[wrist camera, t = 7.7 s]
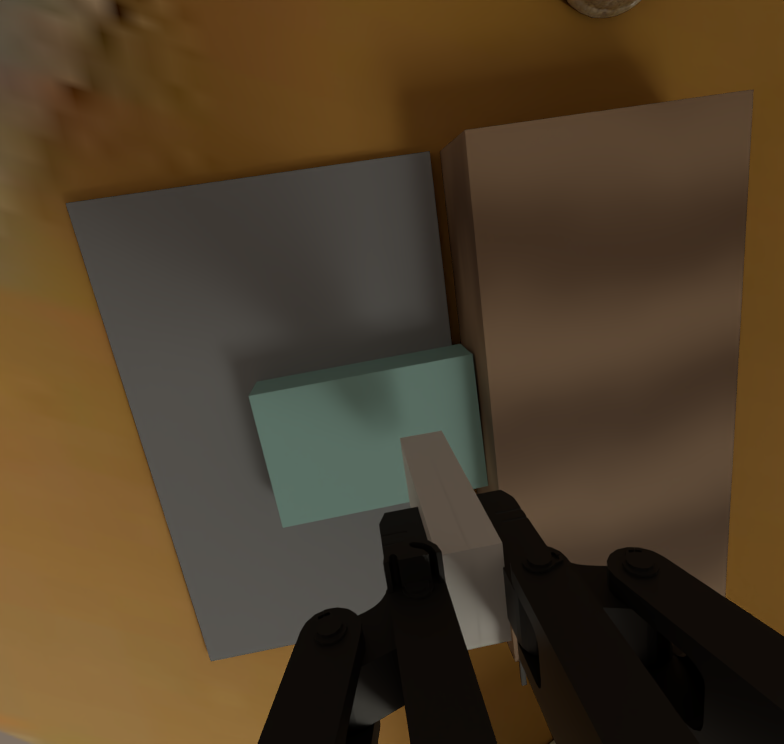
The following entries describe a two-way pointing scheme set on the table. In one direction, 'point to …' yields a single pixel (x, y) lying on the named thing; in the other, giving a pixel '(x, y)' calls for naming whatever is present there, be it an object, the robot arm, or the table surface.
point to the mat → (260, 363)
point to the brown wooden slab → (607, 320)
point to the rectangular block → (363, 430)
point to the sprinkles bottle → (602, 7)
